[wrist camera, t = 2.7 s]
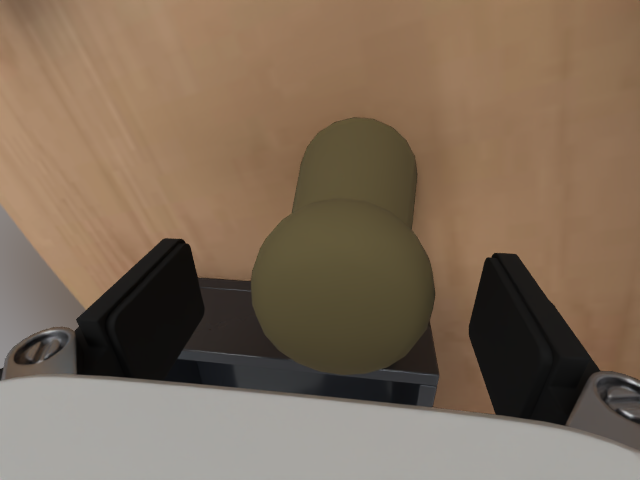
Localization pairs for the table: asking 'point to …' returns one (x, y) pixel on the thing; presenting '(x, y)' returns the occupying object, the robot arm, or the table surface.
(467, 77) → the table surface
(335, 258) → the olive pawn
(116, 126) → the table surface
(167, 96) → the table surface
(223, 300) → the open box
